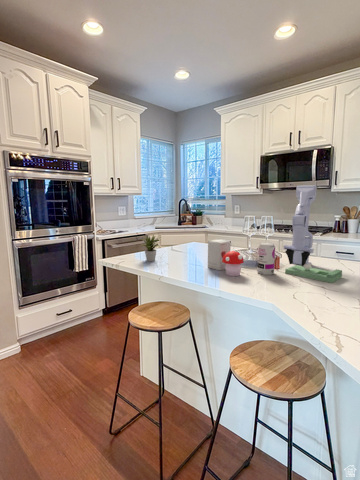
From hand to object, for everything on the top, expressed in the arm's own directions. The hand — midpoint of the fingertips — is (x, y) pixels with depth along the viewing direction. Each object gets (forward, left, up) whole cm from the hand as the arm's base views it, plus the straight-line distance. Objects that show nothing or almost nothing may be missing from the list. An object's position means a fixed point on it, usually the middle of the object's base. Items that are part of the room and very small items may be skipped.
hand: (297, 264), depth 139 cm
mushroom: (-20, -27, -4) cm, 34 cm away
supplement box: (-33, -22, -4) cm, 40 cm away
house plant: (-72, -39, -4) cm, 82 cm away
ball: (+5, 0, 0) cm, 5 cm away
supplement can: (-10, -13, -4) cm, 17 cm away
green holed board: (+8, 0, -4) cm, 9 cm away
